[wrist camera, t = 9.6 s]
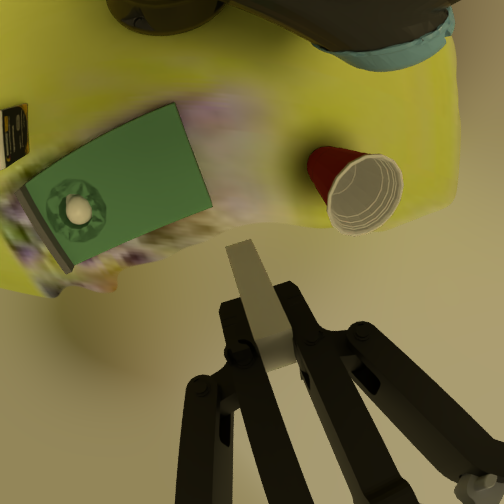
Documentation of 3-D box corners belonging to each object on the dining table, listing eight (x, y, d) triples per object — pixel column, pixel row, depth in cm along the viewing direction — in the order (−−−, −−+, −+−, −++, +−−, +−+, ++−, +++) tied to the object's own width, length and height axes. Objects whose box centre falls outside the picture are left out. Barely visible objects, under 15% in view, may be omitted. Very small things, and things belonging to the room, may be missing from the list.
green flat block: (28, 180, 28) (14, 193, 25) (174, 101, 29) (173, 104, 26) (73, 256, 37) (66, 274, 33) (210, 197, 38) (214, 211, 34)
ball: (60, 209, 31) (61, 199, 28) (83, 194, 33) (86, 184, 30) (74, 233, 32) (76, 226, 29) (96, 217, 34) (101, 209, 31)
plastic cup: (284, 198, 40) (319, 241, 31) (295, 126, 34) (341, 147, 25) (346, 200, 43) (389, 238, 34) (360, 136, 37) (414, 161, 28)
